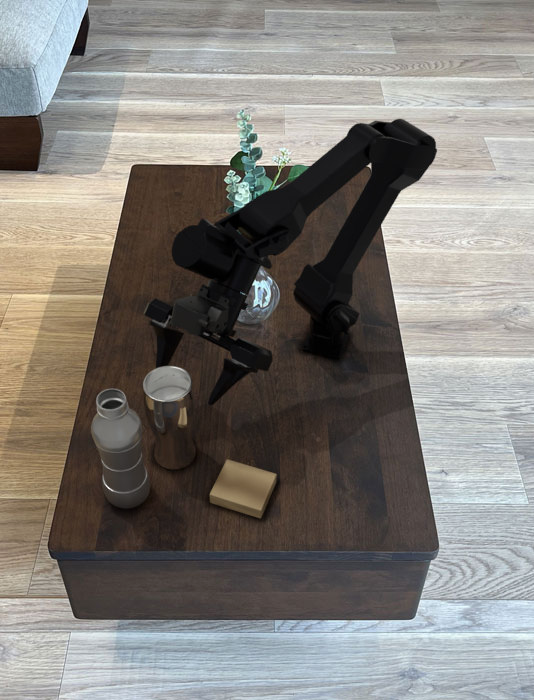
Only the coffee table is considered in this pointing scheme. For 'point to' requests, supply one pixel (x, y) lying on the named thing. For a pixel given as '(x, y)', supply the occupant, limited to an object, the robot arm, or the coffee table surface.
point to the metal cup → (171, 415)
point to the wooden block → (243, 488)
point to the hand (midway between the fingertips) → (183, 390)
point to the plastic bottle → (120, 450)
